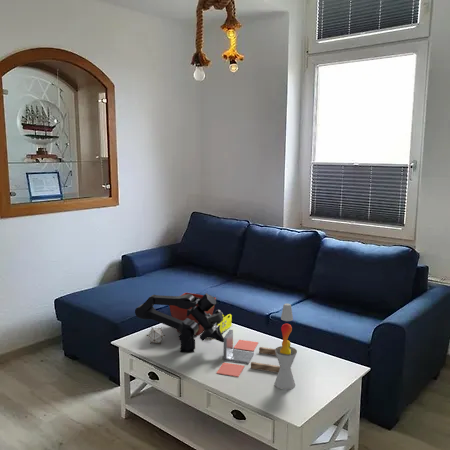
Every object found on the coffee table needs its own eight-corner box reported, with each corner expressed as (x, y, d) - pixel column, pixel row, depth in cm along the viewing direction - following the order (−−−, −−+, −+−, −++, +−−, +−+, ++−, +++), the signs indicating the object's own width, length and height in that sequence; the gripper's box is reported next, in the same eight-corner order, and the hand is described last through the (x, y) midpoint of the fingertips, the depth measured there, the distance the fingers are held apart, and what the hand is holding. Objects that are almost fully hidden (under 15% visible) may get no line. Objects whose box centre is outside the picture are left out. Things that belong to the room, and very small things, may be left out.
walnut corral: (250, 368, 208) (250, 363, 207) (259, 351, 224) (259, 346, 224) (283, 373, 203) (283, 368, 203) (290, 356, 220) (290, 351, 219)
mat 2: (233, 348, 227) (233, 347, 227) (239, 340, 237) (239, 339, 237) (253, 351, 224) (253, 350, 224) (258, 343, 234) (258, 342, 234)
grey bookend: (223, 360, 215) (223, 337, 213) (229, 351, 225) (229, 329, 223) (248, 364, 212) (248, 341, 210) (253, 354, 221) (254, 332, 219)
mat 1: (216, 373, 203) (216, 372, 203) (223, 363, 212) (223, 362, 212) (238, 377, 200) (238, 376, 200) (244, 366, 209) (244, 365, 209)
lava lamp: (295, 390, 189) (298, 309, 183) (273, 388, 191) (275, 307, 184) (295, 379, 198) (298, 301, 192) (274, 377, 199) (276, 300, 193)
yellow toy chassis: (217, 337, 240) (217, 322, 238) (207, 335, 243) (207, 320, 241) (232, 327, 254) (232, 312, 252) (223, 325, 256) (223, 310, 255)
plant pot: (216, 326, 254) (216, 297, 251) (200, 339, 237) (200, 308, 234) (185, 320, 262) (185, 292, 259) (168, 333, 245) (167, 302, 242)
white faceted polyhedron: (159, 348, 235) (170, 331, 236) (155, 349, 227) (167, 332, 228) (145, 338, 237) (156, 321, 238) (140, 339, 229) (152, 322, 230)
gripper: (206, 313, 209) (229, 339, 208) (219, 300, 227) (240, 324, 225) (190, 328, 213) (212, 353, 212) (204, 313, 230) (225, 337, 229)
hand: (223, 341), depth 219 cm, fingers closed
